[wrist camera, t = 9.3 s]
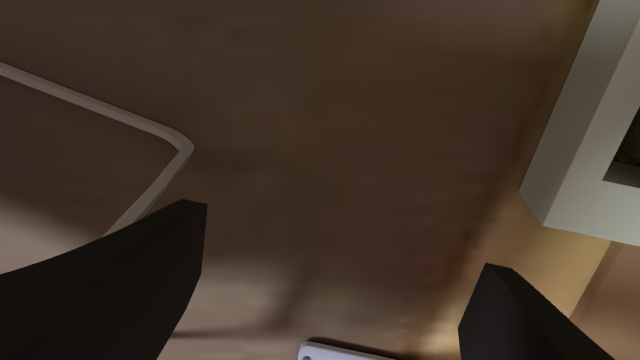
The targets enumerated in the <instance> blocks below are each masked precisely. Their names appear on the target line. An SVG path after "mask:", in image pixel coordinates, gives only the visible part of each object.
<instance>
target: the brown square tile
mask: <svg viewBox="0 0 640 360" xmlns="http://www.w3.org/2000/svg"><path fill="white" fill-rule="evenodd" d="M569 320H570V321H571V322H572V323H574V324H575V325H576V326H577V327H578V328H579V329H580V330H581V331H583V332H584V333H585V334H586V335H587V336H588V337H589V338H590V339H592V340H593V341H594V342H595V343H596V344H597V345H599V346H600V347H601V348H602V349H603V350H604V351H606V352H607V353H608V354H609V355H610V356H612V357H613V358H614V359H615V360H640V247H639V246H635V245H630V244H625V243H620V242H616V241H612V243H611V245H610V247H609V248H608V250H607V252H606V254H605V256H604V257H603V259H602V261H601V263H600V265H599V266H598V268H597V270H596V272H595V274H594V275H593V277H592V279H591V281H590V282H589V284H588V286H587V288H586V290H585V291H584V293H583V295H582V297H581V299H580V300H579V302H578V304H577V306H576V308H575V309H574V311H573V313H572V315H571V317H570V318H569Z"/></svg>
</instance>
